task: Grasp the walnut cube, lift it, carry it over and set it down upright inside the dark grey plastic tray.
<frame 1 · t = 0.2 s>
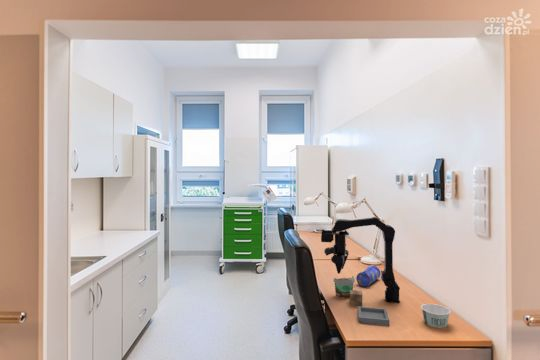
hand: (340, 271, 177), 14 cm above the table, fingers open, 9 cm apart
food container 2: (435, 323, 146), on the table
tray: (372, 318, 151), on the table
pencil case: (368, 283, 202), on the table
food container: (346, 297, 178), on the table
cube: (356, 303, 168), on the table
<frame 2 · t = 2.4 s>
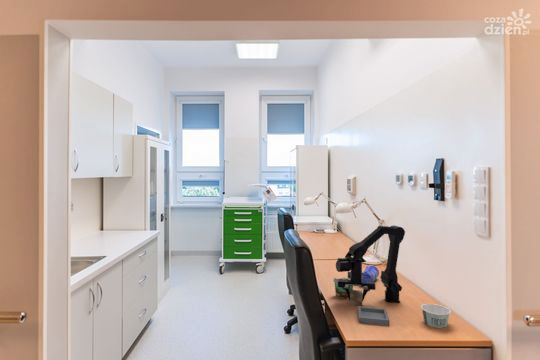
hand: (356, 300, 168), 2 cm above the table, fingers closed on cube, 6 cm apart
cube: (356, 303, 168), on the table, touching gripper
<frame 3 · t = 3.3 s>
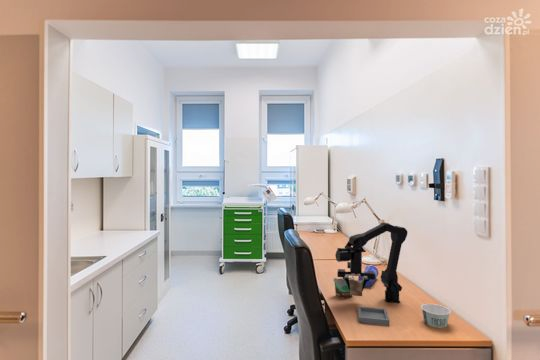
hand: (355, 290, 168), 7 cm above the table, fingers closed on cube, 6 cm apart
cube: (355, 293, 168), point 5 cm above the table, touching gripper
everything else where it was.
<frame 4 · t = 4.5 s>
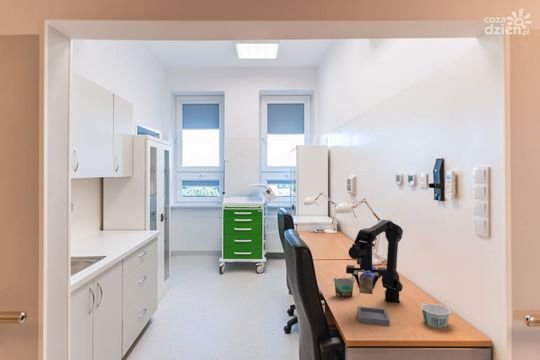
hand: (365, 288, 157), 12 cm above the table, fingers closed on cube, 6 cm apart
cube: (365, 291, 157), point 10 cm above the table, touching gripper
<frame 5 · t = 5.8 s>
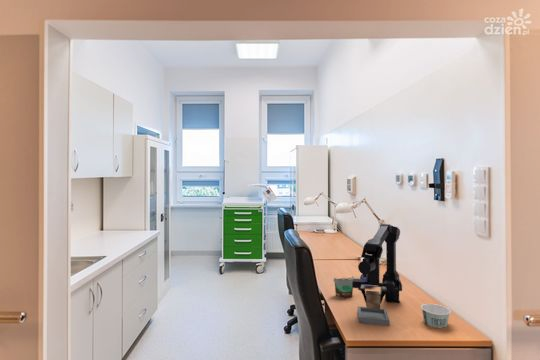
hand: (372, 302, 151), 7 cm above the table, fingers closed on cube, 6 cm apart
cube: (372, 306, 151), point 5 cm above the table, touching gripper
when the fingers open (3 cm above the table, at t = 6.9 s): cube drops 1 cm, resting on tray.
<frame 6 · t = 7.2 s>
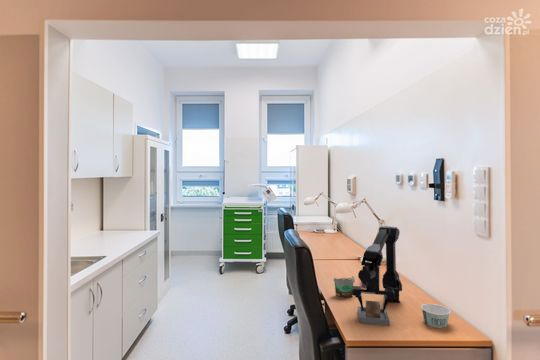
hand: (372, 310, 151), 3 cm above the table, fingers open, 9 cm apart
cube: (372, 316, 151), point 1 cm above the table, touching tray
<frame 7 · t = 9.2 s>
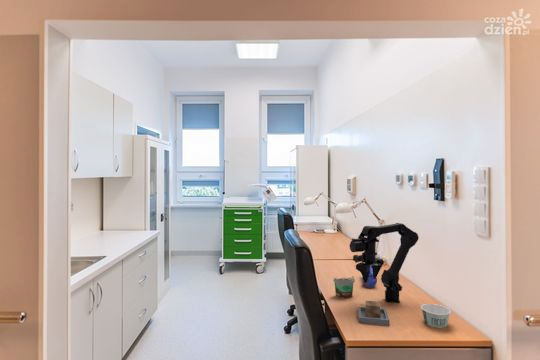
hand: (370, 280, 168), 12 cm above the table, fingers open, 9 cm apart
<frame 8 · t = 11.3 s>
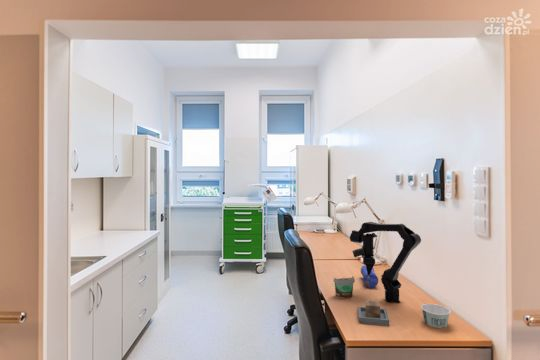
hand: (368, 272, 183), 12 cm above the table, fingers open, 9 cm apart
at the end: cube inside the target area on the tray (0.0 cm from its centre), point 0.8 cm above the tray's base; cube tilted 0°; the gripper is holding nothing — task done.
